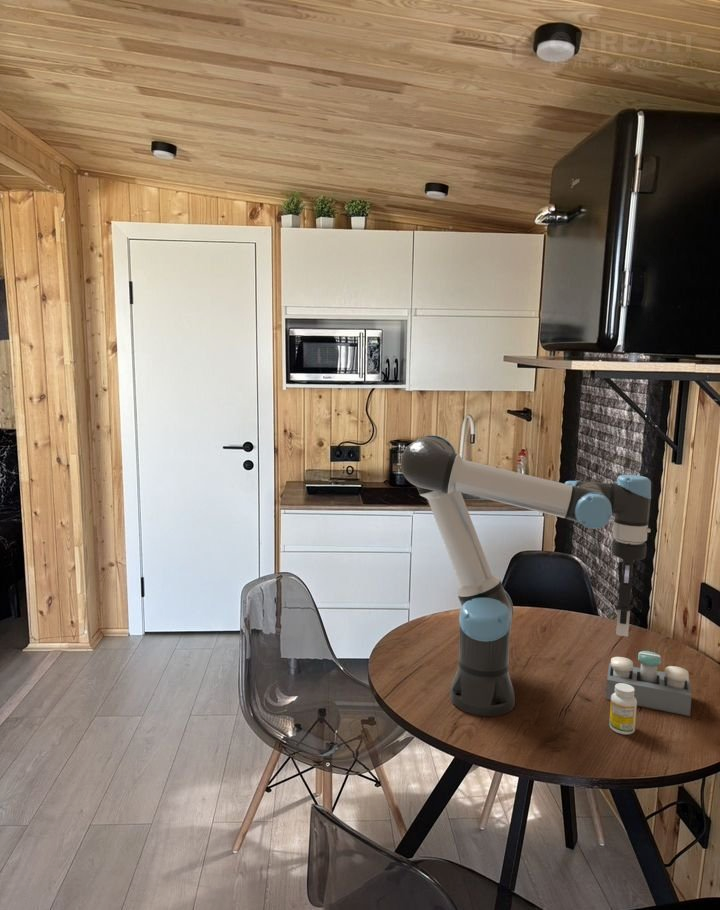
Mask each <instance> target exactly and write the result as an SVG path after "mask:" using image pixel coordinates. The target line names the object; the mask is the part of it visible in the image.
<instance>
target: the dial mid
mask: <svg viewBox="0 0 720 910" xmlns="http://www.w3.org/2000/svg"><path fill="white" fill-rule="evenodd" d="M637 655H638V656H637V661H639V663H640V668H641V670H640V681H642V682H648V683H653V684H656V679H657V671H658V666H660V665H662V656H661V655H660V654H659V653H657V652H654V651H649V650H642V651H639V652H638V654H637Z"/></svg>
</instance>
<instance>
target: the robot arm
mask: <svg viewBox="0 0 720 910" xmlns="http://www.w3.org/2000/svg"><path fill="white" fill-rule="evenodd" d="M455 450H456V449H454V446H453V444H452V443H451V442H449V440H447V439H446V438H445V437H443V436H439V435H433V434H431V435H430V434H429V435H426V436H421V438H418V439H417V440H415V441H413V442H412V443H410V444H409V445H407V447H406V448H405V449H404V451H403V452H402V455H401V457H400V470H401V473H402V475H403V476H404V478H405V479H406V480H407V482H408V483H410V484H411V485H413V486H415V487H416V489H417V491H418V493H419V496H421V497H423V498H425V499H426V500H427V501H428V504H429V507H430V509H431V512H432V514H433V517H434V519H435V524H436V525H437V527H438V531H439V533H440V536H441V538H442V541H443V544H444V546H445V548H446V551H447V554H448V556H449V559H450V561H451V564H452V567H453V570H454V573H455V576H456V577H457V578H456V579H457V580H458V583H459V587H458V589H457V591H456V594H457V597H458V600H459V602H460V605H461V608H460V611H459V616H458V621H459V622H458V623H459V636H458V637H459V641H458V667H457V669H456V673H455V674H454V678H453V681H452V683H451V685H450V694H449V695H450V698H449V699H450V701H451V703H452V702H453V703H454V704H455V705H456V706H457V707H458V708H457V707H456V706H455V705H454V704H453V703H452V704H453V705H454V706H455V707H456V708H457V709H459V708H460V709H459V710H461V709H462V710H463V712H465V711H466V712H465V713H467V712H468V714H470V715H473V716H480V717H498V716H503V715H505V714H508V713H509V712H511V711H512V710H513V709H514V707H515V705H516V704H515V703H516V700H515V699H516V696H515V695H516V694H515V690H514V686H513V684H512V680H511V676H510V673H509V661H510V660H509V659H510V657H509V656H510V639H511V637H510V636H511V629H512V628H511V627H512V621H513V617H514V604H513V601H512V599H511V597H510V595H509V593H508V592H507V591H506V590H505V589H504V585H503V583H502V581H501V579H500V577H498V576H496V575H494V574H492V571H491V569H490V566H489V563H488V561H487V557H486V555H485V552H484V550H483V548H482V545H481V542H480V538H479V536H478V534H477V531H476V529H475V526H474V524H473V520H472V518H471V515H470V513H469V510H468V508H467V505H466V502H465V499H464V496H463V494H466V495H469V496H473V497H478V498H482V499H486V500H491V501H493V502H496V503H497V502H499V503H502V504H506V505H509V506H515V507H518V508H522V509H526V510H530V511H535V512H539V513H542V514H547V515H551V516H555V517H559V518H562V519H566V520H569V521H573V522H577V523H579V524H580V525H582V526H583V527H584V528H587V529H591V530H596V529H597V530H598V529H600V528H603V527H605V526H606V525H608V523H609V522H610V520H611V518H612V515H613V516H614V517H613V518H614V519H613V526H612V527H613V528H612V529H613V530H612V538H614V539H612V544H611V545H612V546H611V554H612V555H613V556H614V557H616V558H618V559H619V558H620V559H622V561H620V560H619V561H618V569H617V571H618V583H619V584H620V585H619V597H618V605H615V606H614V607H615V608H614V609H615V610H617V614H616V615H617V617H616V619H617V620H616V628H615V636H620V637H621V636H622V637H629V628H630V615H631V609H633V608H634V605H633V604H631V601H632V598H631V596H632V587H633V585H635V575H636V573H637V565H638V564H637V563H635V562H634V561H641V560H644V559H646V556H647V555H646V554H647V543H646V541H648V533H651V528H649V519H650V509H651V502H652V501H651V500H652V481H651V480H650V479H649V477H646V476H642V475H635V474H621V475H619V476H618V477H617V479H616V482H611V483H610V482H598V481H584V480H583V481H582V480H580V479H579V480H567V481H565V482H564V483H563V482H558V481H554V480H550V479H547V478H542V477H538V476H533V475H528V474H526V473H519V472H517V471H513V470H509V469H505V468H501V467H495V466H491V465H487V464H483V463H478V462H475V461H470V460H467V459H463V458H462V456H461V455H460V454H459V453H456V451H455ZM462 710H461V711H462Z"/></svg>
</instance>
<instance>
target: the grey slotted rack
mask: <svg viewBox="0 0 720 910" xmlns="http://www.w3.org/2000/svg"><path fill="white" fill-rule="evenodd" d="M640 670H641V667H637V666H633V670H632V671H630V672H629V679H626V678H621V677H615V676H613V671H614V668H612V667H611V661H610V662H608V671H607V677H606V688H605V689H606V694H605V700H607V701H611V695H612V694H613V693H615V685H616V684H618V683H625V684H628V685H631V686H632V687H634V689H635V692H634V697H635V698H636V700H637V707H639V706H640V707H643V708H647V709H652V710H653V709H654V710H659V711H662V712H663V711H664V712H668V713H673V714H679V715H683V716H687V717H691V708H692V707H691V706H692V689H691V682H690V676H688V680H687V681H685V684H684V689H680V688H674V687H669V686H667V682H668V678H667V677H666V676H665V671H659V670H657V679H656V684H653V683H648V682H642V681H640Z"/></svg>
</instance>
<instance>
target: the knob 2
mask: <svg viewBox="0 0 720 910" xmlns="http://www.w3.org/2000/svg"><path fill="white" fill-rule="evenodd" d="M664 672H665V676H666V677H667V678H668V682H667V686H669V687H674V688H680V689H684V684H685V681H687V680H688V677H690V676H689V675H690V673H689V671H688V670H686V669H685V668H684V667H680V666H676V665H675V666H673V665H669V666H667V667H665V668H664Z"/></svg>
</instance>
